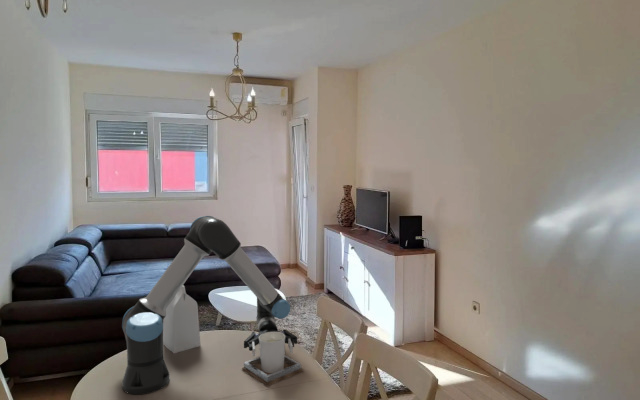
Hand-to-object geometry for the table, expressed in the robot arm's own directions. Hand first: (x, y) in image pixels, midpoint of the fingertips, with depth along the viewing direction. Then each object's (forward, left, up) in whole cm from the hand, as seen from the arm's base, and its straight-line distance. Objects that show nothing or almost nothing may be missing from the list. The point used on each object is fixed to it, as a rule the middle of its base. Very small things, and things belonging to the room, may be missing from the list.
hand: (273, 350), depth 152 cm
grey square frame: (+2, +3, -9) cm, 10 cm away
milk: (-13, +48, -9) cm, 51 cm away
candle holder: (+2, +3, -8) cm, 9 cm away
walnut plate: (+2, +3, -9) cm, 10 cm away
